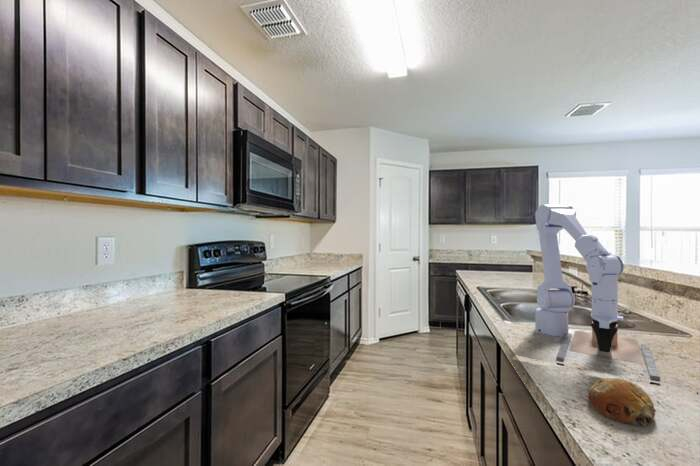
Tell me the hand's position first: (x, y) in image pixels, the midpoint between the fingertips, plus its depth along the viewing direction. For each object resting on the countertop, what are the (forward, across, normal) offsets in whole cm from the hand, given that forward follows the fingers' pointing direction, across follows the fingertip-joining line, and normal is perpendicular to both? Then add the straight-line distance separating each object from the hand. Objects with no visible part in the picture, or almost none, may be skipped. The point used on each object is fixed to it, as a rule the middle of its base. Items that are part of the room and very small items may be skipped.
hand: (604, 348), depth 90 cm
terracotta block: (+2, +14, 0) cm, 14 cm away
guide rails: (+3, +1, 0) cm, 3 cm away
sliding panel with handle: (+3, +10, 0) cm, 10 cm away
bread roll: (+3, -31, -3) cm, 32 cm away
